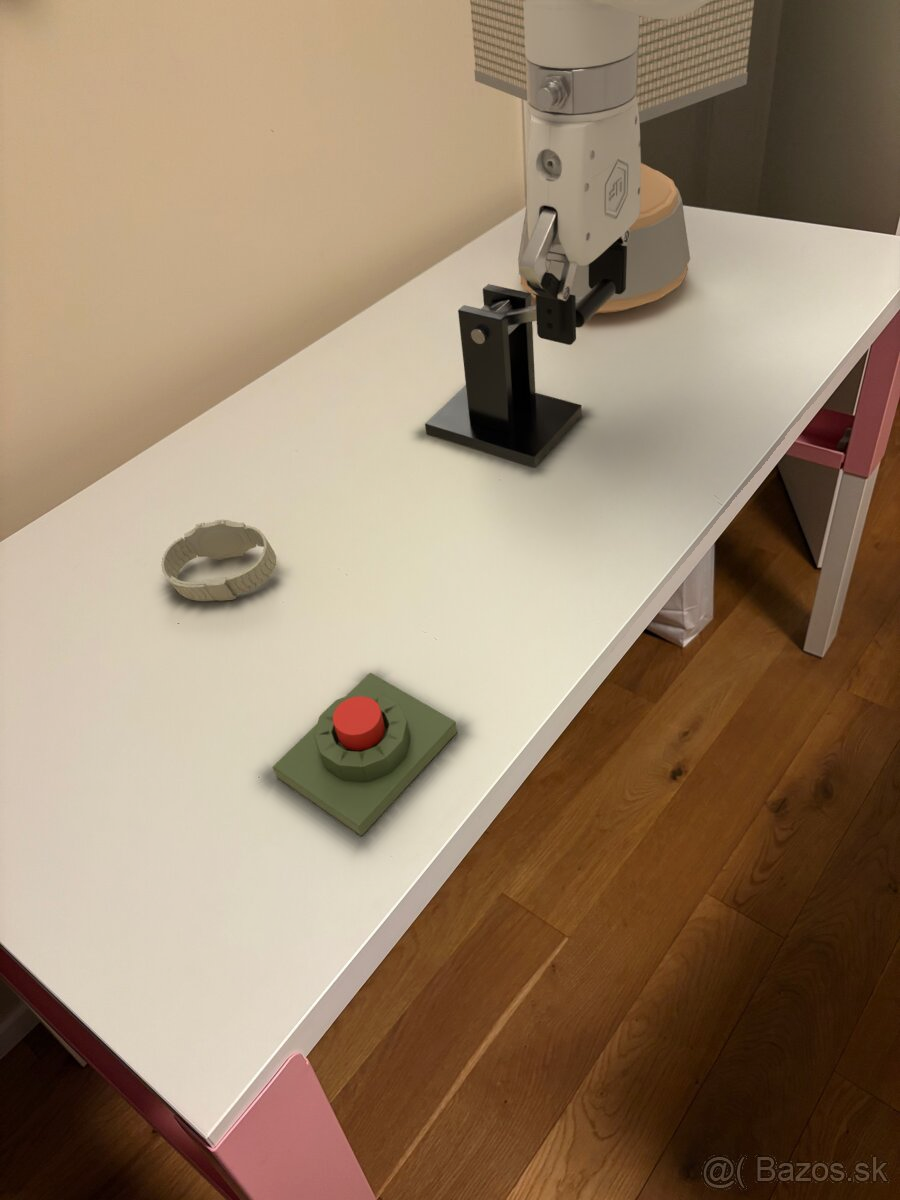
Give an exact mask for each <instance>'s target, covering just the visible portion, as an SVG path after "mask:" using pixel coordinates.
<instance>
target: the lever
mask: <svg viewBox="0 0 900 1200" xmlns="http://www.w3.org/2000/svg"><path fill="white" fill-rule="evenodd" d="M615 290H616V288H615V285H614V283H613V282H612V281H611V280H609V279H602V280H601V281H600V282H599V283H598V284H597V285H596V286H595V287H594V288H593V289H592V290H590V291H589V292H588V293H587V294H586V295H585V296H582V297H577V298H576V329H577V328H578V329H579V328H582V327H583V326H584V325H585V324H586V323H587V322H588V321H589V320H590V319H591V318H592V317H593V316H594V315H595V313H596V312H597V311H598V310H599V309H600V308H601V307H602V306H603V305H604V304H605V303H606V302H607V301H608V300H609V299H610V298H611V297H612V296H613V295H614V294H615ZM480 309H483V310H488V311H492V312H496V313H501V314H505V315H507V323H508V335H509V334H510V333H511V332H512V331H513V330H514V329H515V328H516V327H517V326H519V324H522V323H527V322H532V323H534V322H537V315H536V304H535V305H532V306H529V307H524V308H519V309H513V307H512V305H511V302H510V300H506V301H501V302H496V303H491V304H486V305H485V306H484V305H483V306H482V307H481V308H480Z"/></svg>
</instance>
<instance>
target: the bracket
mask: <svg viewBox="0 0 900 1200" xmlns="http://www.w3.org/2000/svg"><path fill="white" fill-rule="evenodd" d="M482 297H483V306H485V305H486V304H491V303H496V302H501V301H506V300H510V302H511V305H512V307H513V309H519V308H524V307H529V306H533V305H532V295H531V293H529V292H528V291H524V290H523V291H522V290H518V289H513V288H509V287H505V286H504V287H503V286H499V285H495V284H490V283H488V284H487V285H485V286H484V287H483V288H482ZM457 314H458V315H457V316H458V322H459V323H458V324H459V333H460V342H461V351H462V362H463V371H464V380H465V385H464V386H463V387H462V388H461V389H460V390H459V391H458V392H457V393H456V394H454V396H453V397H452V398H450V399H449V400H448V401H447V402H446V403H445V404H444V405H443V406H442V407H441V408H440V409H439V410H438V411H436V413H435V414H434V415H433V416H431V417H430V418H429V419H428V420H427V421H426V422H425V423H424V426H425V427H424V428H425V433H426V435H429V436H432V437H435V438H439V439H442V440H445V441H448V442H450V443H454V444H457V445H461V446H464V447H467V448H470V449H473V450H477V451H481V452H483V453H487V454H490V455H493V456H496V457H500V458H503V459H507V460H508V461H509V460H510V461H512V462H516V463H519V464H523V465H526V466H529V467H531V468H536V467H537V465H538V464H540V462H541V461H542V460H543V459H544V458H545V457H546V455H548V454H549V452H550V451H551V450H552V449H553V448H554V447H555V446H556V444H557V443H558V442H559V441H560V440H561V439H562V438H563V437H564V436H565V435H566V433H567V432H568V431H569V430H570V429H571V428H572V427H573V426H574V425H575V424H576V422H577V421H578V420H579V419H580V418H581V417H582V415H583V407H582V404H579V403H575V402H572V401H568V400H564V399H561V398H556V397H553V396H549V395H546V394H542V393H538V392H536V374H535V351H534V350H535V349H534V327H533V322H527V323H522V324H519V326H517V327H516V328H515V329H514V330H513V331H512V332H511V333H510V334H509V335H508V323H507V315H505V314H501V313H496V312H492V311H488V310H483V309H481V308H478V307H474V306H469V305H465V304H464V305H462V306H461V307H460V308H459V309H458V310H457Z"/></svg>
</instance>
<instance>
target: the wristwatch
mask: <svg viewBox="0 0 900 1200" xmlns="http://www.w3.org/2000/svg"><path fill="white" fill-rule="evenodd" d="M256 547H263V550H262V554H261V555H260V557H259V559H257V561H256V562H255V563H254V564H253V565H252V566H251V567H249V568H248V569H246V570H244V571H243V572H241V573H238V574H236V575H234V576H229V577H227V576H226V577H218V578H211V579H206V580H205V581H195V582H193V581H184V580H180V579H178V574H179V573H180V571H181V569H182V568H183V567H184V566H185V565H186V564H188V563H189V562H190V561H192V560H194V559H196V558H197V557H198V558H211V559H216V560H218V561H219V560H226V559H228V558H233V557H242V556H245V555H246V553H247V552H248V551H249V550H252V549H253V548H256ZM277 561H278V560H277V555H276V553H275V550H274V549H273V547H272V545H271V543H270V542H269V541H268V539H267V537H266V535H265V534H264V533H263V532H262V531H261V530H260V529H258V528H257V527H255V526H252V525H248V524H245V523H244V522H238V521H233V520H229V519H217V520H214V521H210V522H202V523H196V524H195V527H193V528H192V529H191V530H189V531H187V532H185V533H184V534H183V537H178V538H177V539H176V540H174V541H173V542H172V543H171V544H170V545H169V546H168V547H167V549H166V550H165V551H164V554H163V555H162V558H161V564H160V565H161V566H160V567H161V571H162V574H163V576H164V577H165V578H166V579H167V581H168V582H169V583H170V584H171V585H172V587H173V588H174V589H175V590H176V591H177V593H178V594H179V595H181V596H182V597H184V598H186V599H189V600H192V601H196V602H213V601H219V602H220V601H233V600H235V599H236V598H237V597H238V595H239V594H244V593H245V592H249V591H251V590H254V589H256V588H257V587H259V586H260V585H262V584H263V583H264V582H266V581H267V580H268V579H269V577H271V575H272V574H273V572H274V570H275V569H276V566H277Z"/></svg>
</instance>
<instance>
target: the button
mask: <svg viewBox="0 0 900 1200" xmlns="http://www.w3.org/2000/svg"><path fill="white" fill-rule="evenodd" d="M333 723H334V727H335V730H336V733H337V736H338V739H339V742H340V743H341V744H342V745H343V746H344V747H346V748H348V749H350V750H355V751H360V750H366V749H369V748H371V747H373V746H375V745H376V744H377V743H378V742H379V741H380V740H381V739H382V737H383V735H384V732H385V725H384V721H383V717H382V713H381V709H380V707H379V705H378V704H377V702H375V701H374V700H373V699H371V698H368V697H363V696H358V697H352V698H349V699H347V700H345V701H343V702H342V703H341V704H340V705H339V706H338V707H337V708H336V710H335V711H334V714H333Z"/></svg>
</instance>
